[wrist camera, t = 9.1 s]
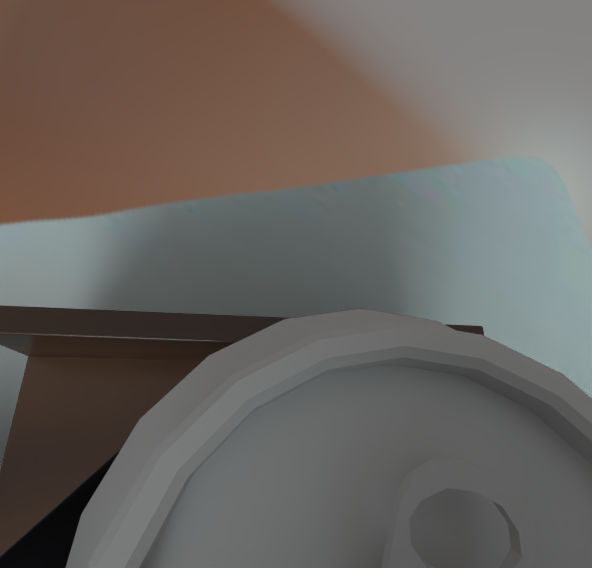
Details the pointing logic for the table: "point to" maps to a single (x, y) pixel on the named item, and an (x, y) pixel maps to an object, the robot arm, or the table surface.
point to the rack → (94, 392)
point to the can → (352, 457)
